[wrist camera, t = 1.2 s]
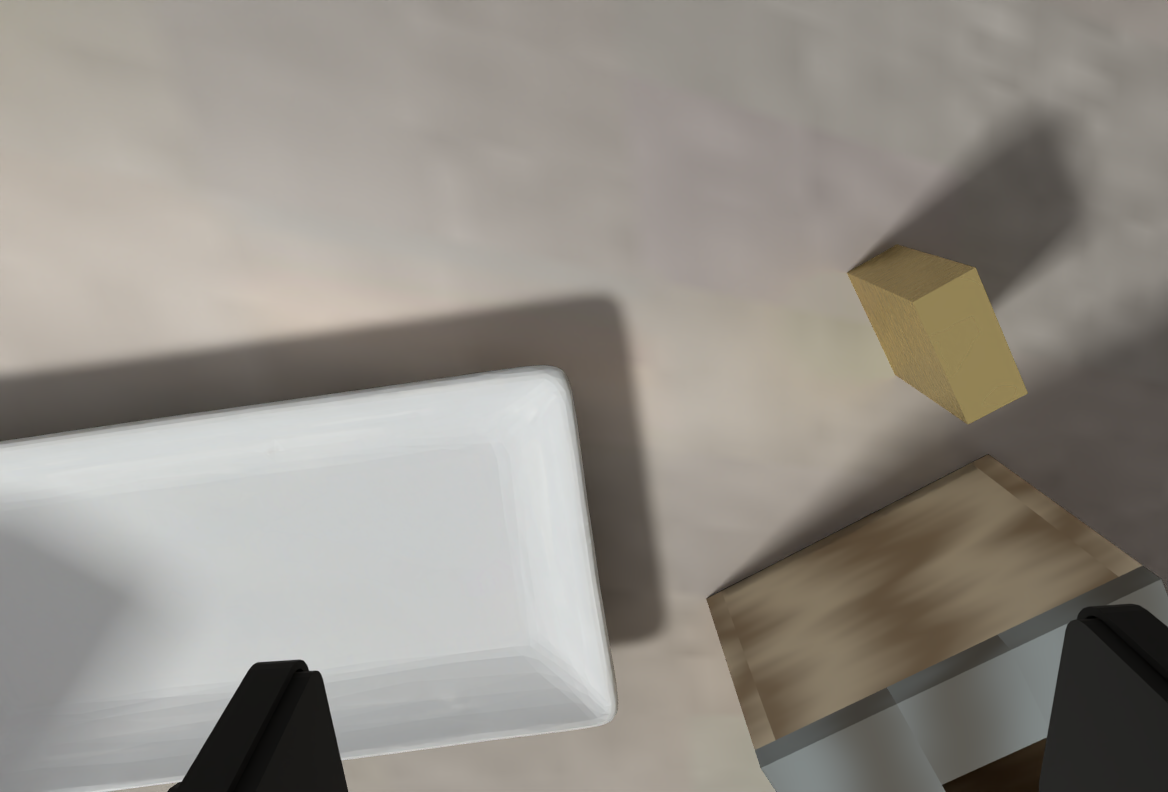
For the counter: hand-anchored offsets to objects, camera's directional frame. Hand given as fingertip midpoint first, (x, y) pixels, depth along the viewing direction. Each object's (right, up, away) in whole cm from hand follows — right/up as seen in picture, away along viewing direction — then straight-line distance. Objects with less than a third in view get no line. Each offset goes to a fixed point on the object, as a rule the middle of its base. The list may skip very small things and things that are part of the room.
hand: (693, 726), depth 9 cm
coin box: (+14, -8, +27) cm, 31 cm away
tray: (-16, -4, +25) cm, 30 cm away
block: (+11, +8, +21) cm, 25 cm away
